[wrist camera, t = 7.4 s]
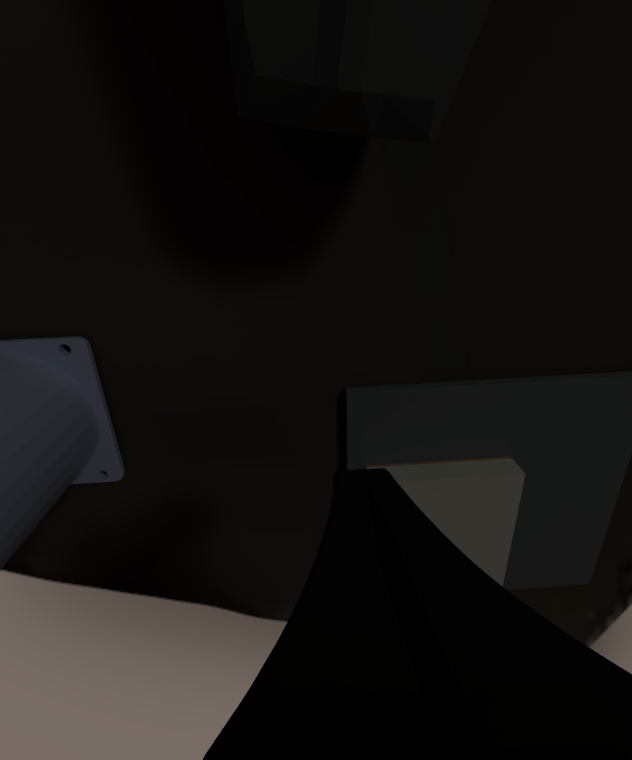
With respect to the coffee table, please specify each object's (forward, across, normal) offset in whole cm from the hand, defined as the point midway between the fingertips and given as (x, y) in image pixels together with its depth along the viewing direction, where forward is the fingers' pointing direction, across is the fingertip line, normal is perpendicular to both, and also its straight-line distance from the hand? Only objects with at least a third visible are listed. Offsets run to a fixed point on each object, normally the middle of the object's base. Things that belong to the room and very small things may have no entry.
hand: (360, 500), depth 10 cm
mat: (+10, -9, +9) cm, 16 cm away
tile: (+9, -6, +6) cm, 12 cm away
